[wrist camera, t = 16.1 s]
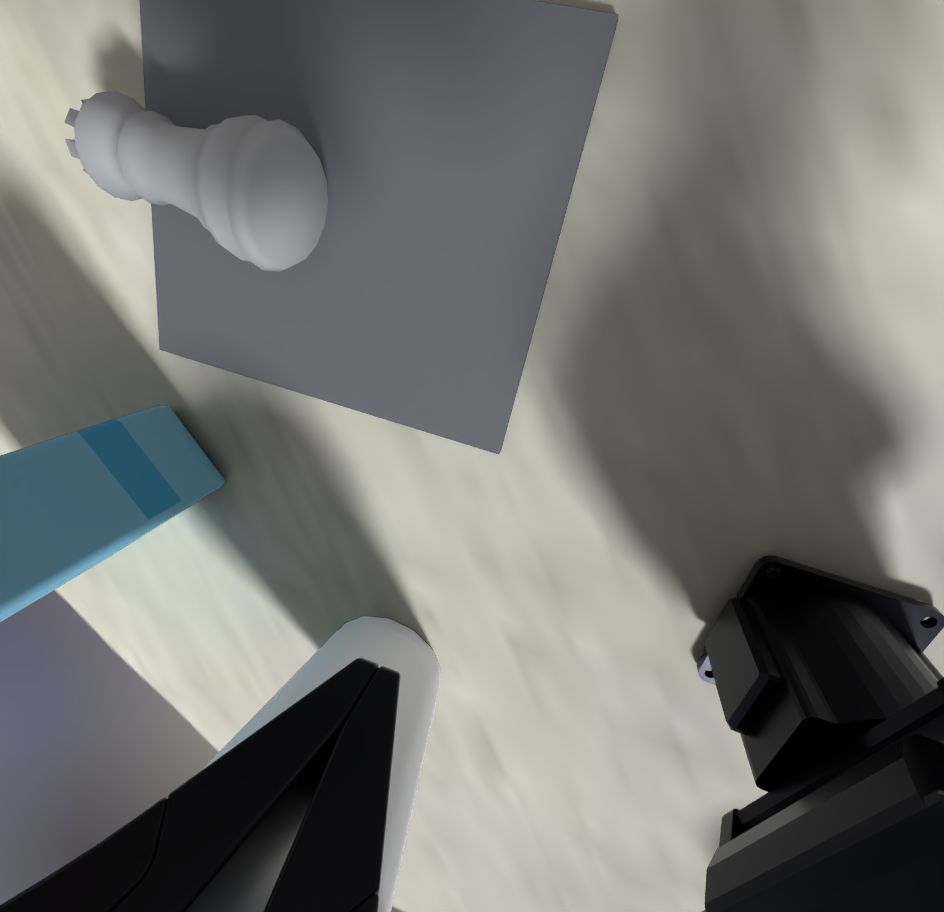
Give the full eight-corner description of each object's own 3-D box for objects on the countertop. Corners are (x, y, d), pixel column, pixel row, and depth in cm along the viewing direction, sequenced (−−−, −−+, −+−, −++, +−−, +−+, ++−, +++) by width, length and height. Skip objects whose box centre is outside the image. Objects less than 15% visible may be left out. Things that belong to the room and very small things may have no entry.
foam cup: (326, 715, 29) (136, 1027, 17) (290, 586, 25) (25, 862, 14) (478, 738, 26) (381, 1123, 14) (460, 599, 23) (315, 949, 11)
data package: (182, 396, 23) (-202, 517, 12) (240, 475, 23) (-68, 654, 13) (59, 493, 27) (-298, 643, 16) (111, 555, 28) (-194, 737, 17)
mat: (617, 21, 14) (618, 14, 13) (500, 451, 20) (498, 454, 19) (146, -61, 16) (135, -69, 16) (166, 348, 22) (159, 349, 21)
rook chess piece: (224, 255, 14) (19, 179, 15) (312, 289, 18) (147, 228, 19) (263, 87, 13) (41, 24, 14) (346, 165, 17) (170, 111, 18)
